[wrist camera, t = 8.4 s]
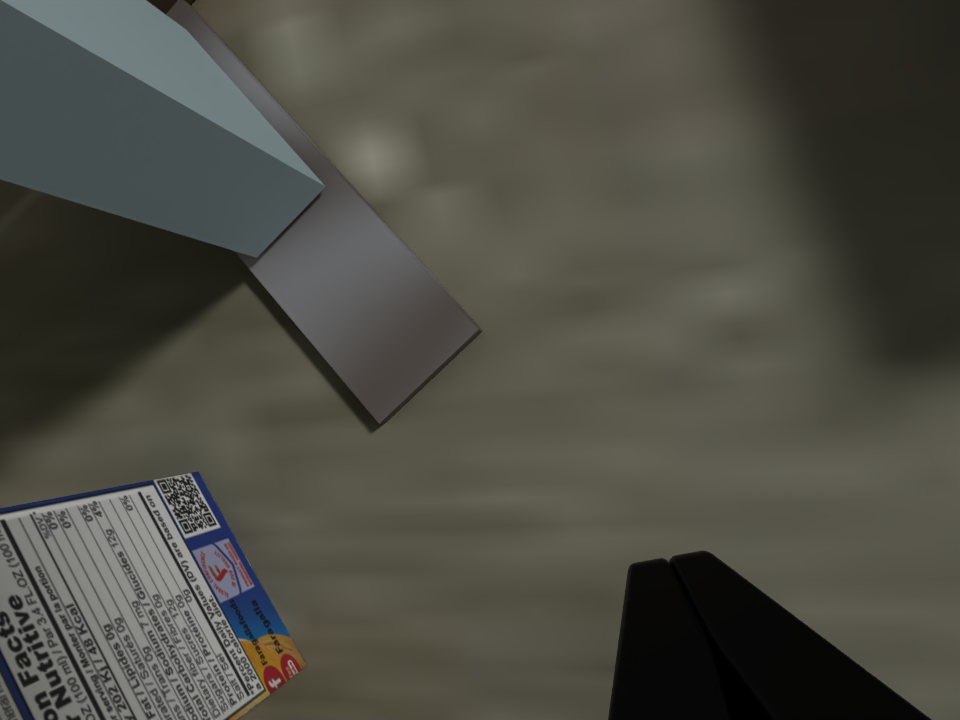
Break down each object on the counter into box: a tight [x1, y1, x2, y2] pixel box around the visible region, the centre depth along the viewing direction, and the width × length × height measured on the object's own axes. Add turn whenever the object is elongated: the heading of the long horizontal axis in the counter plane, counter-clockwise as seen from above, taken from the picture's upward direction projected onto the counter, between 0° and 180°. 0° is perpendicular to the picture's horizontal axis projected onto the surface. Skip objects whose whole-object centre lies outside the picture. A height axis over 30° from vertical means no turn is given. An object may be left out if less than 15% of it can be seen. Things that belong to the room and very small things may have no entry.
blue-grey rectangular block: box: [0, 0, 326, 258], centre depth 18 cm, size 7×3×12 cm, turn 42°
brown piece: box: [146, 0, 482, 424], centre depth 18 cm, size 16×6×13 cm, turn 42°
